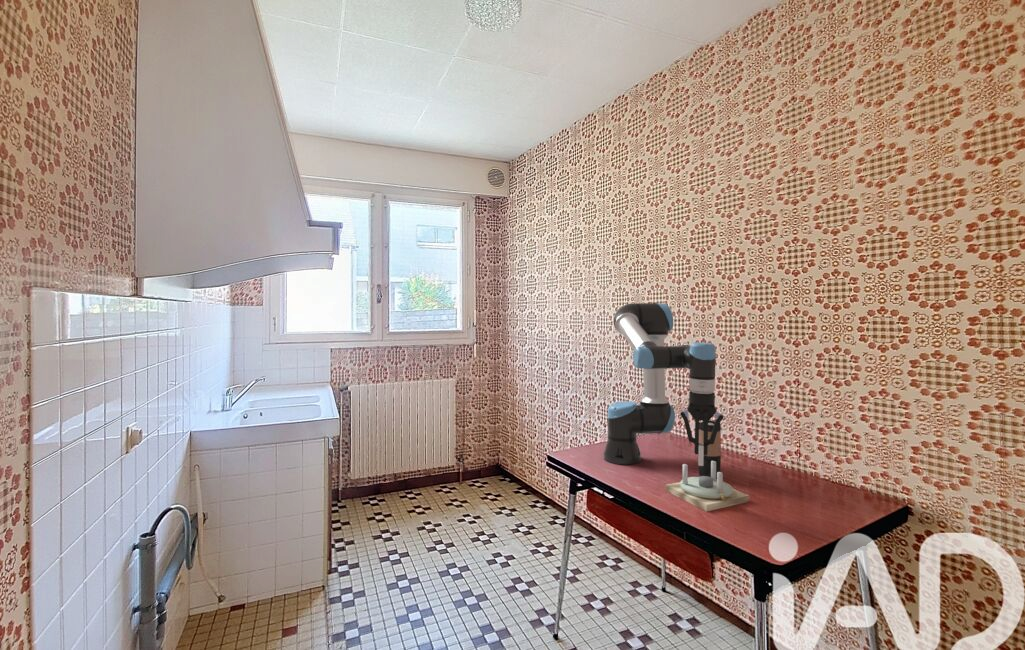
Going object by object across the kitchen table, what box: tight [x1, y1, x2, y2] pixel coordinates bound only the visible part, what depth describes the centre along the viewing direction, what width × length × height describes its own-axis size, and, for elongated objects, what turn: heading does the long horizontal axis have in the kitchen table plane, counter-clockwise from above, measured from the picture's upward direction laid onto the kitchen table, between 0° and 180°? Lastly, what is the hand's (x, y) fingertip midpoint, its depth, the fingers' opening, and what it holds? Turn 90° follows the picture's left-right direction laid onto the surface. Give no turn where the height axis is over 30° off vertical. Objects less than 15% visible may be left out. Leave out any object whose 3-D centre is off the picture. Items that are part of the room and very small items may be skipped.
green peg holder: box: [679, 461, 734, 499], centre depth 151 cm, size 16×16×8 cm
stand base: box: [665, 481, 750, 513], centre depth 151 cm, size 18×18×3 cm
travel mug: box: [698, 420, 722, 479], centre depth 169 cm, size 8×8×20 cm
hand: (700, 464), depth 147 cm, fingers closed
